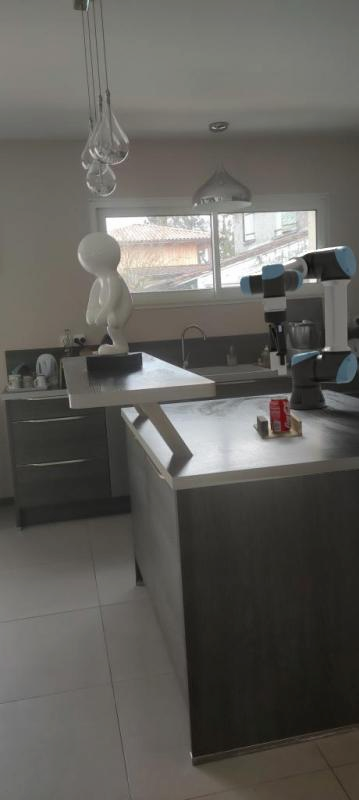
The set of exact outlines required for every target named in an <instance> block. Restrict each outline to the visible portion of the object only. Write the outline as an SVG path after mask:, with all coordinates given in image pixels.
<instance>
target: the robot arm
mask: <svg viewBox="0 0 359 800" xmlns="http://www.w3.org/2000/svg"><path fill="white" fill-rule="evenodd" d="M356 271H357V260H356V257H355V254H354V251H353V250H352V248H350V247H349V246H345V245H344V246H343V245H342V246H333V247H326V248H319V249H312V250H308V251H306V252H303V253H300V254H298V255H296V256H292V257H290V258H289V259H288V261H287V262H283V263H269V264H264V265H263V266H262V267H261V270H260V271H258V272H256V273H248V274H244V275H242V277H240V281H239V286H240V287H239V288H240V291H241V293H242V294H243V295H246V296H250V295H251V296H253V295H263V296H262V298H263V301H262V302H261V305H263V310H264V313H263V317H264V319H263V320H264V323H266V324H268V350H269V358H270V359H269V360H270V371H277V374H278V376H285V375H286V376H287V375H288V372H287V371H288V369H287V368H288V367H287V356H286V355H287V354H288V351H287V343H286V342H287V341H286V336H285V327H284V325H283V324H281V323H285V322H287V320H288V317H287V316H288V314H287V313H288V312H287V310H285V309H287V297H286V293H289V292H292V293H293V292H295V291H298V290H300V289H301V288H302V286H303V283H304V280H319V279H320V283H321V285H322V286H323V287H324V326H325V327H324V328H325V331H324V332H325V334H324V335H325V337H324V338H325V346H324V348H323V349H321V353H320V350H313V351H308V352H302V353H298V354H294V355H292V357H291V365H290V368H291V377H292V378H291V379H292V380H291V381H292V391H291V395H290V399H289V402H290V409H293V410H299V411H300V410H301V411H302V410H303V411H306V410H318V409H322V408H325V407H326V402H327V401H326V398H325V395H324V393H323V391H322V384H323V383H324V384H325V383H326V384H330V383H331V384H338V385H339V384H347V383H350V382H352V381H353V379H354V377H355V375H356V372H357V370H358V359H357V356H356V355H355V354H354V353H352V348H351V347H349V346H348V288H347V287H348V284H349V283H351V280H352V279H351V278H352V277H353V276H354V275H355V274H356Z"/></svg>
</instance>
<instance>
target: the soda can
mask: <svg viewBox="0 0 359 800" xmlns="http://www.w3.org/2000/svg"><path fill="white" fill-rule="evenodd" d="M268 404H269V405H268V407H269V421H270V422H269V423H270V426H271V430H272V431H273V432H274V433H286V432H288V431H289V430H290V429H291V415H290V412H291V408H290V399H289V398H288V396H283V395H282V396H281V395H279V396H272V397H270V401H269V403H268Z"/></svg>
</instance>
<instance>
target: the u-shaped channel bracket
mask: <svg viewBox="0 0 359 800" xmlns="http://www.w3.org/2000/svg"><path fill="white" fill-rule="evenodd" d="M290 415H291V429H290V430H289V431H288V432H286V433H274V432H273V431H272V430H271V426H270V422H269V420H268V419H267V418H266V416H264V415H256V423H253V427H254V429H255V430H256V431H257V433H258V435H260V437H261V439H262V440H264V439H265V440H266V439H276V438H277V439H278V438H279V439H280V438H289V437H290V438H292V437H302V436H303V421H302V420H301V419H299V417H297V415H295V414H294V413H293V412H292V411H290Z"/></svg>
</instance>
